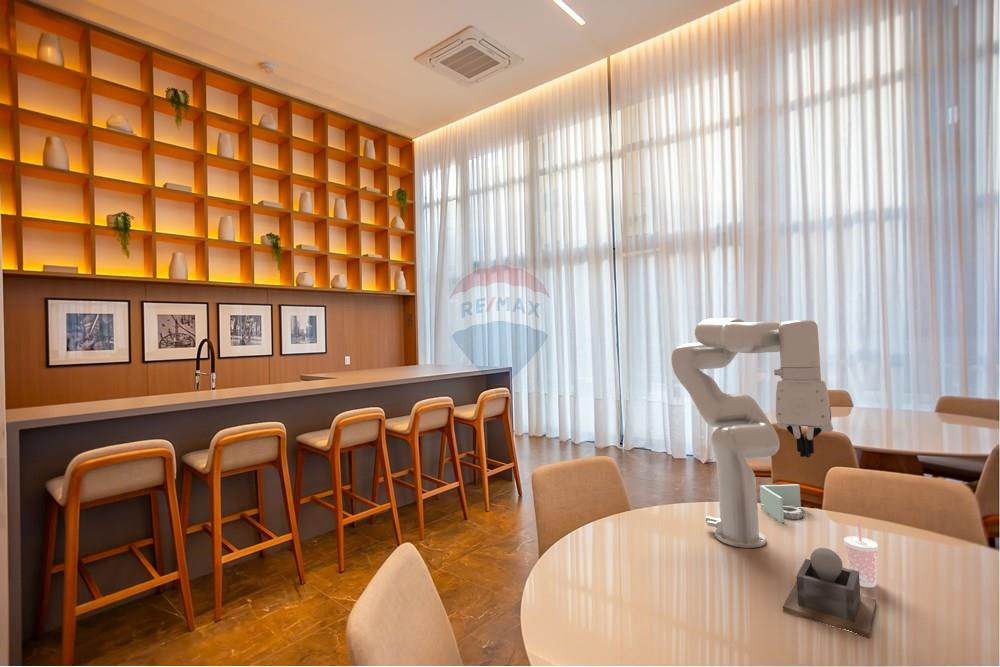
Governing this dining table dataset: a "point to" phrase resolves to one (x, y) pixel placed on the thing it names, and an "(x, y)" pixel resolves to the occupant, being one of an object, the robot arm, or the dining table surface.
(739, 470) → the robot arm
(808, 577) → the socket block
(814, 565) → the light bulb
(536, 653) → the dining table surface
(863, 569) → the beverage cup
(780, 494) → the l-shaped corner panel
